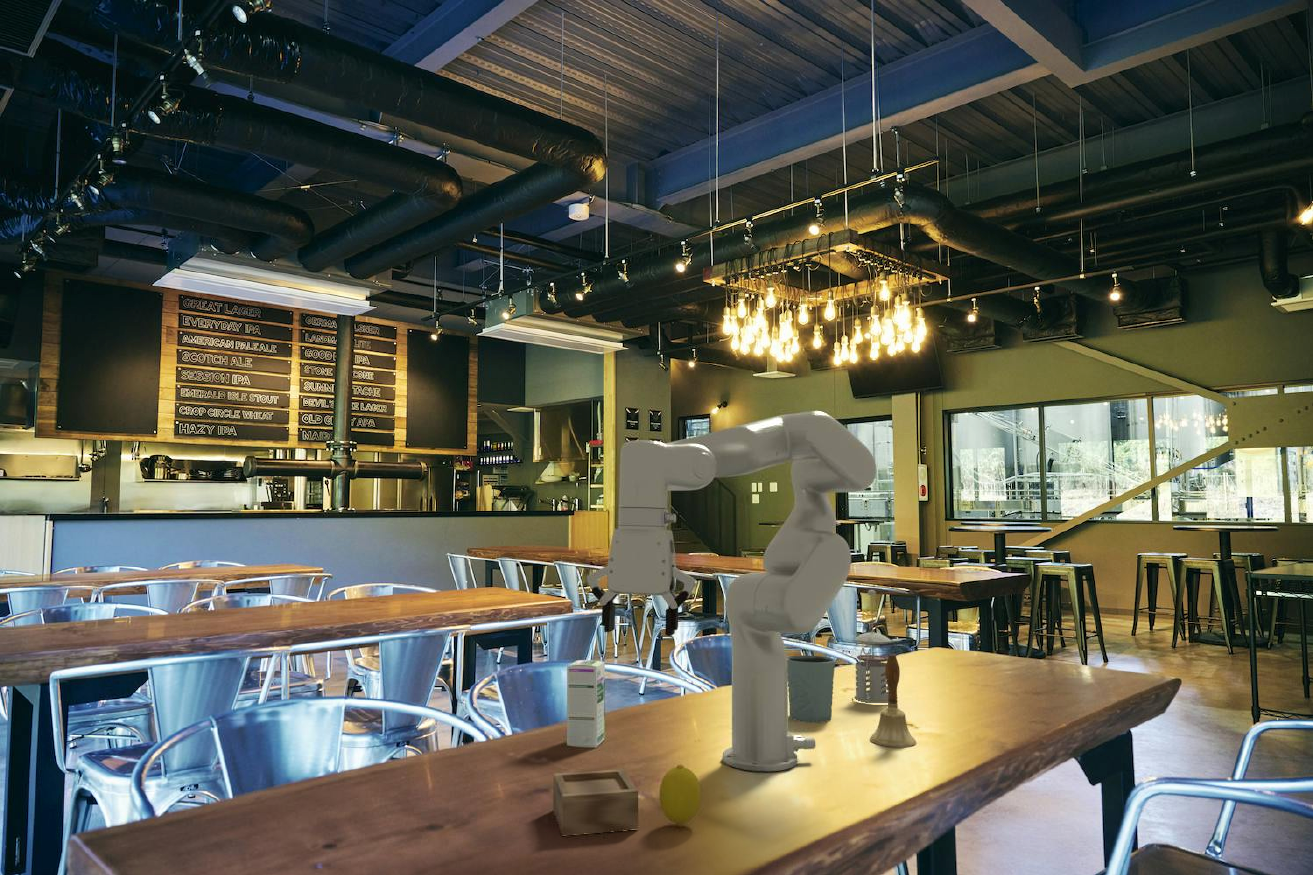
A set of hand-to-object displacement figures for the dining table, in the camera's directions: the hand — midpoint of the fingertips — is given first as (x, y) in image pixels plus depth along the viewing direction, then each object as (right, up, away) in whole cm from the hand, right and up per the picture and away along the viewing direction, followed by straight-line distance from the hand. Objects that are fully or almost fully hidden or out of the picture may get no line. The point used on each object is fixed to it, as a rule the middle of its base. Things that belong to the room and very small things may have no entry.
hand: (639, 632), depth 127 cm
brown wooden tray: (-6, -22, -14) cm, 27 cm away
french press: (+52, -30, +62) cm, 86 cm away
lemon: (+6, -22, -16) cm, 28 cm away
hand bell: (+47, -27, +28) cm, 61 cm away
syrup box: (-10, -26, +25) cm, 38 cm away
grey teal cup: (+35, -29, +46) cm, 65 cm away
